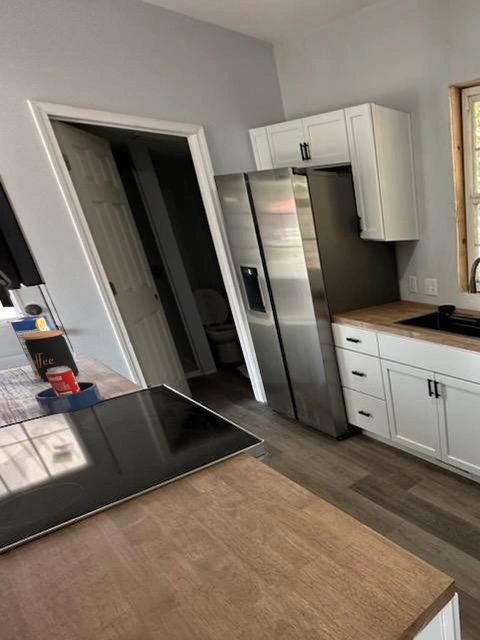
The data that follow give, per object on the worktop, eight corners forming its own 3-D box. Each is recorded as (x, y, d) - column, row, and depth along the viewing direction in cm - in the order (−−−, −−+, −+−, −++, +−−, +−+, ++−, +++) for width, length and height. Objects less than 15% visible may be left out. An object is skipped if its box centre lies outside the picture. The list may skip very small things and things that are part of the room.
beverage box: (35, 376, 165) (10, 322, 157) (45, 368, 173) (22, 317, 165) (59, 373, 168) (35, 320, 160) (67, 365, 177) (46, 315, 169)
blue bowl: (28, 415, 130) (20, 399, 128) (67, 397, 144) (60, 383, 142) (79, 412, 132) (72, 396, 130) (112, 394, 146) (107, 380, 144)
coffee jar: (34, 381, 159) (13, 336, 153) (67, 372, 169) (49, 329, 162) (54, 383, 157) (34, 337, 150) (87, 374, 167) (69, 330, 160)
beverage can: (64, 400, 139) (49, 367, 134) (87, 397, 141) (73, 364, 137) (56, 406, 134) (40, 372, 130) (80, 403, 137) (65, 369, 132)
